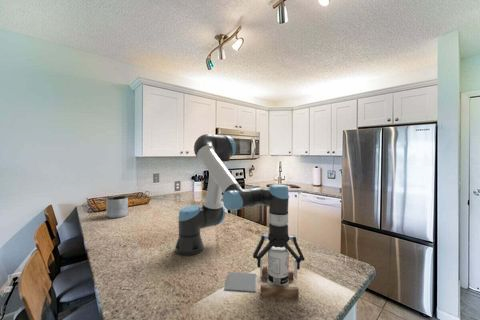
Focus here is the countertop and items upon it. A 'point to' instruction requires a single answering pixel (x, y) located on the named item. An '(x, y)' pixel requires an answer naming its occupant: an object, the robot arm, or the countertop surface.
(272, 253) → the supplement can
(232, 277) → the mat
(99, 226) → the countertop surface
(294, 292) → the cradle
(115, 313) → the countertop surface
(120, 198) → the planter
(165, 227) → the countertop surface
